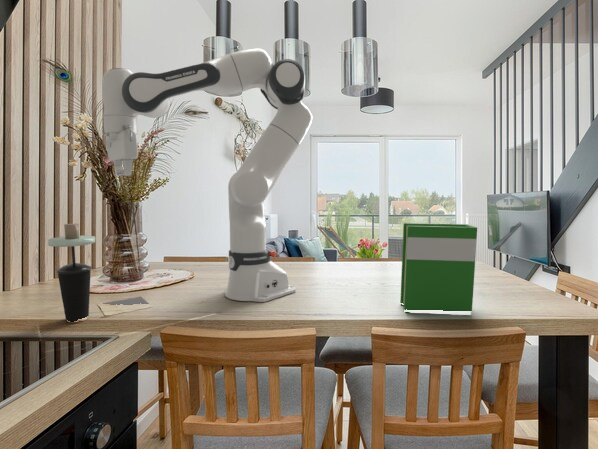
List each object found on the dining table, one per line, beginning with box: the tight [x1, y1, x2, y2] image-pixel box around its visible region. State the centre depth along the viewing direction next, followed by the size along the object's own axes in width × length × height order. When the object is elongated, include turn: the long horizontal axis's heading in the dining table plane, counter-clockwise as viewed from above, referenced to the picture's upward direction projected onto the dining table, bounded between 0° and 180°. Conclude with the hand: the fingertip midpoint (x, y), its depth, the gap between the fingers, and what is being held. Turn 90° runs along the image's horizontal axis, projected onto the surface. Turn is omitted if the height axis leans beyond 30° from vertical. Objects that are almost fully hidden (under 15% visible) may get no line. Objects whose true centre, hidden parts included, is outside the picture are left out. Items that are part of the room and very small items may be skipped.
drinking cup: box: [55, 246, 93, 322], centre depth 94 cm, size 8×8×20 cm
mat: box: [102, 296, 150, 305], centre depth 106 cm, size 12×12×1 cm
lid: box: [47, 223, 96, 248], centre depth 93 cm, size 10×10×5 cm
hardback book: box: [399, 222, 478, 312], centre depth 104 cm, size 18×7×24 cm, turn 84°
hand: (123, 175), depth 111 cm, fingers open, 8 cm apart
